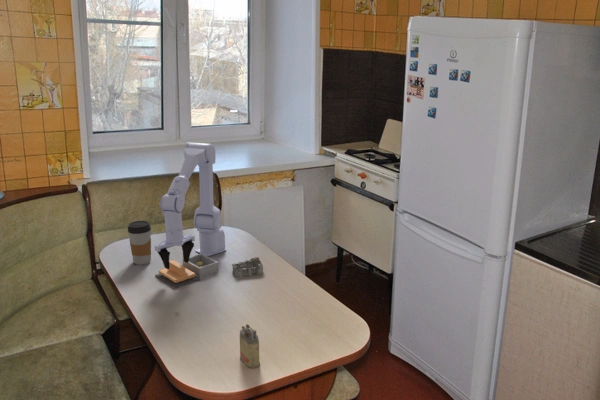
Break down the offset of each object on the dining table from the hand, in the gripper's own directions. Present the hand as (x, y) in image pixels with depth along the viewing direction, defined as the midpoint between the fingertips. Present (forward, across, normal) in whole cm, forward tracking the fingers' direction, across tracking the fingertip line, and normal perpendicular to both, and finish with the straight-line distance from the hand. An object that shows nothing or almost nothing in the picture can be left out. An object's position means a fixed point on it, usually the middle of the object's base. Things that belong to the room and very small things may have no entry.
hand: (176, 265), depth 199 cm
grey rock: (+6, +21, -12) cm, 25 cm away
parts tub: (+5, +10, 0) cm, 11 cm away
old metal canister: (+5, -13, -58) cm, 59 cm away
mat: (+5, 0, 0) cm, 5 cm away
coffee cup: (+5, -2, +22) cm, 22 cm away
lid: (+4, 0, 0) cm, 4 cm away
